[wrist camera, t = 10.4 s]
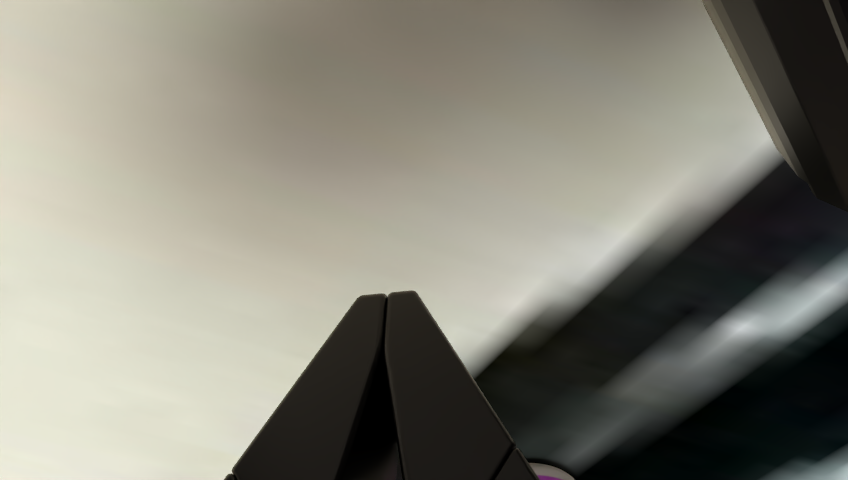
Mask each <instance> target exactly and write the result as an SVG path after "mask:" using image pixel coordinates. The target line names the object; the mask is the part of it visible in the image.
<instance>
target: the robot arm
mask: <svg viewBox="0 0 848 480" xmlns="http://www.w3.org/2000/svg"><path fill="white" fill-rule="evenodd" d="M702 2H703V4H704V6H705V8H706V10H707V12H708V14H709V16H710V18H711V20H712V22H713V24H714V26H715V28H716V30H717V32H718V34H719V36H720V38H721V40H722V42H723V44H724V46H725V48H726V50H727V52H728V53H729V55H730V57H731V59H732V61H733V63H734V65H735V67H736V69H737V71H738V73H739V75H740V77H741V79H742V81H743V83H744V85H745V87H746V89H747V91H748V93H749V95H750V97H751V99H752V101H753V103H754V105H755V107H756V109H757V111H758V113H759V115H760V117H761V119H762V121H763V123H764V125H765V127H766V129H767V131H768V133H769V135H770V136H771V138H772V140H773V142H774V144H775V146H776V148H777V150H778V151H779V152H780V154H781V155H782V156H783V157H784V159H785V160H786V161H787V163H788V164H789V165H790V166H791V168H792V169H793V170H794V172H795V173H796V174H797V175H798V177H799V178H801V179H802V180H804V181H805V182H807V183H808V185H809V187H810V189H811V191H812V193H813V194H814V195H815V196H816V197H817V198H818V199H820V200H822V201H825V202H827V203H829V204H831V205H833V206H836V207H838V208H840V209H842V210H845V211H847V212H848V0H702ZM398 452H399V458H400V465H401V471H402V478H403V480H540V479H539V477H538V476H537V474H536V473H535V472H534V470H533V469H532V467H531V466H530V464H529V463H528V461H527V459H526V458H525V456H524V455H523V453H522V452H521V450H520V449H518V448H517V446H516V443H515V442H514V440H513V439H512V437H511V436H510V434H509V433H508V431H507V430H506V428H505V426H504V425H503V423H502V422H501V420H500V419H499V417H498V416H497V414H496V413H495V411H494V410H493V408H492V407H491V405H490V404H489V402H488V401H487V399H486V397H485V396H484V394H483V393H482V391H481V390H480V388H479V387H478V385H477V384H476V382H475V381H474V379H473V378H472V376H471V375H470V373H469V372H468V370H467V369H466V367H465V365H464V364H463V362H462V361H461V359H460V358H459V356H458V355H457V353H456V352H455V350H454V349H453V347H452V346H451V344H450V343H449V341H448V340H447V338H446V336H445V335H444V333H443V332H442V330H441V329H440V327H439V326H438V324H437V323H436V321H435V320H434V318H433V317H432V315H431V314H430V312H429V311H428V309H427V307H426V306H425V304H424V303H423V301H422V300H421V298H420V297H419V295H418V294H417V293H416V292H415V291H403V292H392V293H390V294H389V295H388V297H387V296H386V295H385V294H371V295H362V296H360V297H358V298H357V299H356V301H355V302H354V303H353V305H352V306H351V307H350V309H349V310H348V312H347V313H346V314H345V316H344V317H343V318H342V320H341V321H340V322H339V324H338V325H337V327H336V328H335V329H334V331H333V332H332V333H331V335H330V336H329V337H328V339H327V340H326V342H325V343H324V344H323V346H322V347H321V348H320V350H319V351H318V352H317V354H316V355H315V357H314V358H313V359H312V361H311V362H310V363H309V365H308V366H307V367H306V369H305V370H304V372H303V373H302V374H301V376H300V377H299V378H298V380H297V381H296V382H295V384H294V385H293V387H292V388H291V389H290V391H289V392H288V393H287V395H286V396H285V397H284V399H283V400H282V402H281V403H280V404H279V406H278V407H277V408H276V410H275V411H274V412H273V414H272V415H271V417H270V418H269V419H268V421H267V422H266V423H265V425H264V426H263V427H262V429H261V430H260V432H259V433H258V434H257V436H256V437H255V438H254V440H253V441H252V442H251V444H250V445H249V447H248V448H247V449H246V451H245V452H244V453H243V455H242V456H241V458H240V459H239V460H238V462H237V463H236V464H235V466H234V467H233V469H232V473H233V474H228V475H227V476H226V478H225V479H224V480H396V472H397V461H398Z"/></svg>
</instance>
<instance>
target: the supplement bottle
mask: <svg viewBox="0 0 848 480" xmlns="http://www.w3.org/2000/svg"><path fill="white" fill-rule="evenodd" d="M529 464H530V466H531V467H532V469H533V470H534V472H535V473H536V474H537V476H538V477H539V479H540V480H575V479H574V478H573V477H572V476H570V475H569V474H568V473H566V472H564V471H563V470H561V469H558V468H556V467H553V466H550V465H546V464H539V463H529Z"/></svg>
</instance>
